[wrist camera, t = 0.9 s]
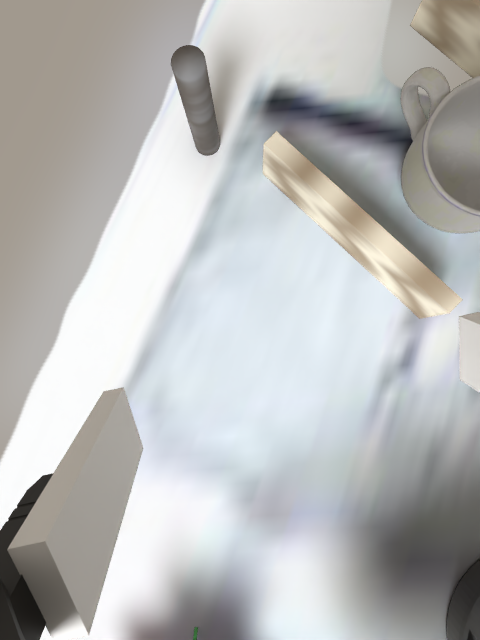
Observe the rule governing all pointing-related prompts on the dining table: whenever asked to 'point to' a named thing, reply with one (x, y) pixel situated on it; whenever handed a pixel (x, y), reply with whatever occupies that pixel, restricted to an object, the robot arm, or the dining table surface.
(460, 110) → the teacup
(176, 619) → the dining table surface
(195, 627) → the lily
